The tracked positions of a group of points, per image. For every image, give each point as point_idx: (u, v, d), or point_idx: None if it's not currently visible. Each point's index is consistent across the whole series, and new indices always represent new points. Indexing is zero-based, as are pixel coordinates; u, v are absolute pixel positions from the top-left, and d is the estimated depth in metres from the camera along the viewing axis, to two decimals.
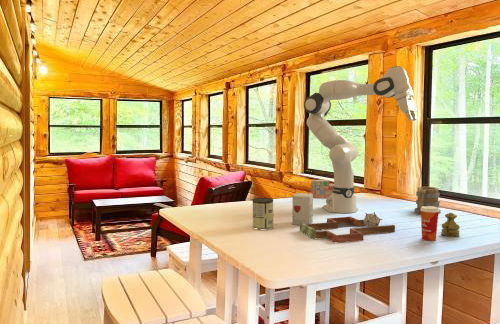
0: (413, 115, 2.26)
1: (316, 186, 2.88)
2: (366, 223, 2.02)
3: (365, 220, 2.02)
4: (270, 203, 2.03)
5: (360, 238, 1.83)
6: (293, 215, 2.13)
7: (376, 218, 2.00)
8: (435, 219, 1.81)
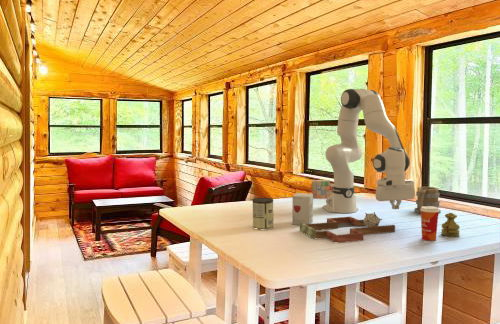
0: (397, 203, 2.06)
1: (317, 186, 2.87)
2: (366, 223, 2.02)
3: (365, 220, 2.02)
4: (270, 203, 2.03)
5: (360, 238, 1.83)
6: (293, 215, 2.13)
7: (376, 218, 2.00)
8: (435, 219, 1.81)
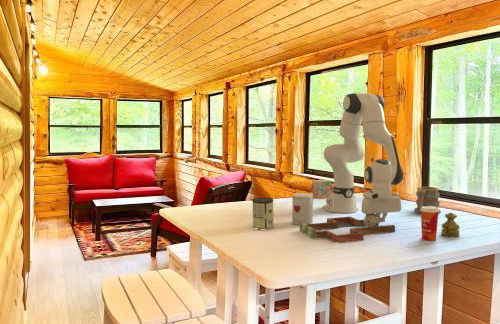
0: (383, 216, 2.04)
1: (318, 186, 2.86)
2: (366, 223, 2.01)
3: (365, 220, 2.02)
4: (270, 203, 2.03)
5: (360, 238, 1.83)
6: (293, 215, 2.13)
7: (376, 218, 2.00)
8: (435, 219, 1.81)
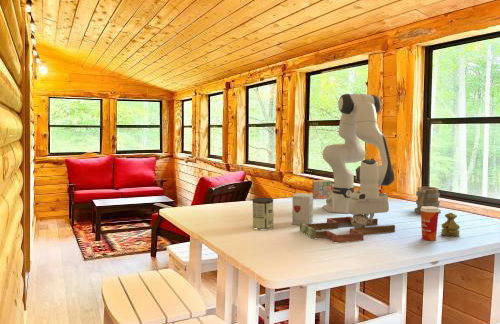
0: (370, 216, 2.02)
1: (319, 186, 2.86)
2: (353, 224, 2.00)
3: (352, 221, 2.00)
4: (270, 203, 2.03)
5: (360, 238, 1.83)
6: (293, 215, 2.13)
7: (363, 219, 1.98)
8: (435, 219, 1.81)
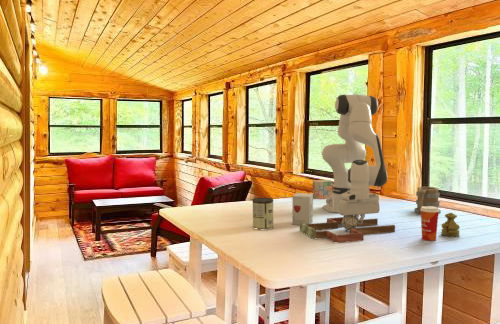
0: (361, 217, 2.01)
1: (320, 186, 2.85)
2: (343, 224, 1.99)
3: (342, 221, 1.99)
4: (270, 203, 2.03)
5: (360, 238, 1.83)
6: (293, 215, 2.13)
7: (353, 220, 1.97)
8: (435, 219, 1.81)
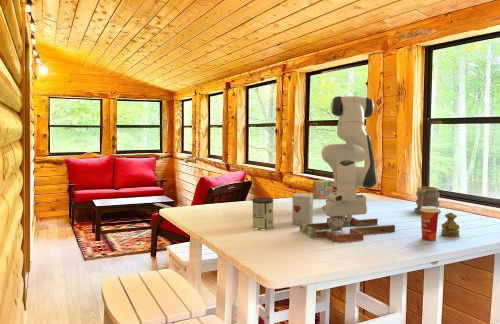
0: (348, 218, 1.99)
1: (321, 186, 2.85)
2: (329, 225, 1.97)
3: (329, 222, 1.97)
4: (270, 203, 2.03)
5: (360, 238, 1.83)
6: (293, 215, 2.13)
7: (339, 221, 1.95)
8: (435, 219, 1.81)
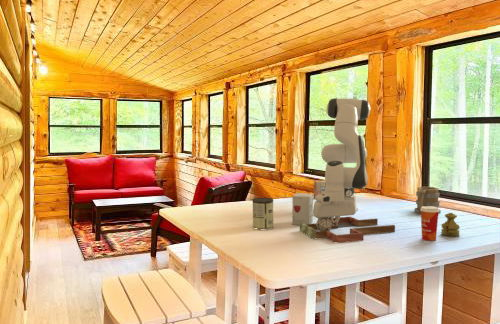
0: (336, 219, 1.97)
1: (321, 187, 2.84)
2: (317, 226, 1.95)
3: (317, 223, 1.96)
4: (270, 203, 2.03)
5: (360, 238, 1.83)
6: (293, 215, 2.13)
7: (327, 222, 1.93)
8: (435, 219, 1.81)
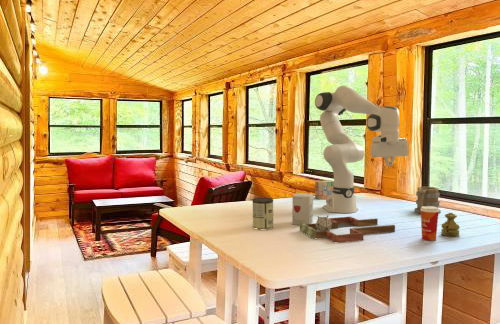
0: (391, 160, 2.15)
1: (323, 187, 2.83)
2: (317, 226, 1.96)
3: (316, 223, 1.96)
4: (270, 203, 2.03)
5: (360, 238, 1.83)
6: (293, 215, 2.13)
7: (327, 222, 1.94)
8: (435, 219, 1.81)
